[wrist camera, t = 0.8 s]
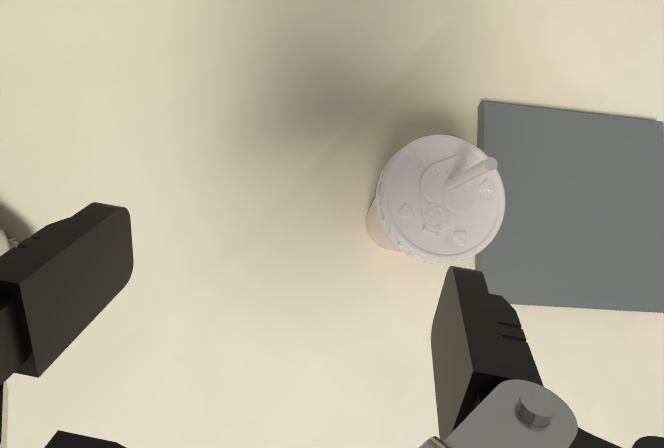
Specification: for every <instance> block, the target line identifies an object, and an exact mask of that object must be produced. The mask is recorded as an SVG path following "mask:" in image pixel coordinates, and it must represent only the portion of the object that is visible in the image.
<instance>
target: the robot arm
mask: <svg viewBox="0 0 664 448" xmlns="http://www.w3.org/2000/svg"><path fill="white" fill-rule="evenodd" d="M132 270H133V248H132V235H131V221H130V214H129V211H128V210H127V209H126V208H124V207H120V206H114V205H108V204H103V203H97V202H94V203H91V204H90V205H88V206H87V207H85V208H84V209H82V210H81V211H79V212H78V213H76V214H75V215H73V216H72V217H69V218H66V219H63V220H61V221H58V222H55V223H52V224H49V225H47V226H45V227H44V228H42V229H41V230H39V231H38V232H36V233H35V234H33V235H32V236H31V238H27V239H25V240H24V241H22V242H21V243H19V244H18V246H17V247H13V248H12V249H10V250H9V251H7V252H5V253H4V254H2V255H1V256H0V448H7V422H8V387H7V383H6V380H7V379H8V378H9V377H10V376H11V375H12V374H13V373H18V374H23V375H28V376H33V377H38V378H39V377H40V376H41V375H42V374H43V372H44V371H45V370H46V369H47V368H48V367H49V366H50V365H51V364H52V363H53V362H54V361H55V360H56V359H57V358H58V357H59V356H60V354H61V353H62V352H63V351H64V350H65V349H66V348H67V347H68V346H69V345H70V344H71V343H72V342H73V341H74V340H75V339H76V338H77V336H78V335H79V334H80V333H81V332H82V331H83V330H84V329H85V328H86V327H87V326H88V325H89V324H90V323H91V322H92V321H93V320H94V318H95V317H96V316H97V315H98V314H99V313H100V312H101V311H102V310H103V309H104V308H105V307H106V306H107V305H108V304H109V303H110V301H111V300H112V299H113V298H114V297H115V296H116V295H117V294H118V293H119V292H120V291H121V290H122V289H123V288H124V287H125V285H126V284H127V283H128V281H129V279H130V277H131V274H132ZM431 348H432V359H433V370H434V381H435V392H436V403H437V414H438V425H439V436H440V439H439V438H438V437H436V436H434V437H431V438H430V439H428V440H427V441H426V442H425V443H424V444H423V445H422V446H421V447H419V448H621V447H619V446H617V445H615V444H612V443H610V442H608V441H605V440H603V439H601V438H599V437H596V436H594V435H592V434H590V433H588V432H586V431H584V430H582V429H580V428H579V427H578V425H577V421H576V418H575V416H574V414H573V412H572V410H571V409H570V408H569V407H568V405H567V404H566V403H565V402H564V401H563V400H562V399H561V398H560V397H558V396H557V395H556V394H554V393H553V392H551V391H550V390H548V389H546V388H545V387H544V386H543V383H542V381H541V378H540V375H539V373H538V370H537V367H536V364H535V362H534V359H533V356H532V354H531V351H530V348H529V345H528V343H527V342H526V337H525V335H524V332H523V329H521V324H520V321H519V318H518V316H517V313H516V311H515V309H514V308H513V307H512V306H511V305H510V304H509V303H508V302H507V301H506V300H505V299H504V298H503V296H500V295H495V294H489V291H488V287H487V284H486V281H485V278H484V274H483V272H482V271H477V270H472V269H466V268H461V267H455V266H450V267H449V269H448V271H447V274H446V277H445V281H444V284H443V288H442V291H441V295H440V298H439V302H438V305H437V309H436V312H435V316H434V320H433V325H432V332H431ZM45 448H126V447H124V446H122V445H120V444H118V443H116V442H112V441H107V440H102V439H97V438H92V437H88V436H83V435H78V434H73V433H68V432H64V431H59V430H58V431H57V432H56V434H55V435H54V436H53V437H52V439H51V440H50V441H49V443H48V444H47V445H46V446H45ZM632 448H664V438H663V437H657V436H646V437H642V438H640V439H638V440H637V441H636V442H635V443H634V445H633V447H632Z"/></svg>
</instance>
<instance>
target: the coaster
mask: <svg viewBox="0 0 664 448" xmlns="http://www.w3.org/2000/svg"><path fill="white" fill-rule="evenodd" d="M477 147H478V148H479V149H480V150H482V151H483V152H484V153H485V154H486V155H487V156H488V158H489V157H492V158H494V159H495V160H496V161H497V168H496V169H497V171H498V173H499V175H500V177H501V180H502V183H503V187H504V192H505V212H504V217H503V220H502V224H501V226H500V228H499V230H498V232H497V234H496V236H495V237H494V238H493V240H492V241H491V242H490V243H489V244H488V245H487V246H486V247H485V248H484V249H483V250H482V251H480V252H479V253H477V254H476V264H475V270H477V271H482V272H483V274H484V278H485V281H486V284H487V287H488V291H489V294H495V295H500V296H503V298H504V299H505V300H506V301H507V302H508V303H509V304H520V305H537V306H555V307H572V308H589V309H606V310H624V311H641V312H658V313H664V125H663V122H661V121H652V120H643V119H634V118H625V117H617V116H608V115H599V114H590V113H582V112H573V111H564V110H555V109H547V108H538V107H529V106H520V105H512V104H503V103H494V102H485V101H484V102H483V103H482V104H481V105H480V106H478V146H477Z"/></svg>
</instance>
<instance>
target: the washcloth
mask: <svg viewBox="0 0 664 448" xmlns="http://www.w3.org/2000/svg"><path fill="white" fill-rule="evenodd" d="M6 235H7V233H6V231H3V230H1V229H0V256H1V255H2V254H4V253H5V252H7V251H9V250H10V249H12V248H13V247H17V246H18V244H19V242H18V241H17V239H15V238H14V237H10V238H7V237H6Z"/></svg>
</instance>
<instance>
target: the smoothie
mask: <svg viewBox="0 0 664 448" xmlns="http://www.w3.org/2000/svg"><path fill="white" fill-rule="evenodd" d="M496 168H497V161H496V160H495V159H494V158H492V157H489V158H488V156H487V155H486V154H485V153H484V152H483V151H482V150H480V149H479V148H478V147H476V146H475V145H473V144H472V143H470V142H468V141H466V140H464V139H461V138H458V137H455V136H450V135H429V136H425V137H421V138H419V139H416V140H414V141H412V142H410V143H409V144H407V145H406V146H404V147H403V148H401V149H400V150H399V151H398V152H396V153H395V154H394V155H393V156H392V157H391V158H390V159H389V160H388V162H387V164H386V165H385V167H384V169H383V170H382V172H381V174H380V177H379V181H378V184H377V188H376V197H375V199H374V201H373V203H372V205H371V207H370V209H369V211H368V214H367V219H366V226H367V230H368V233H369V235H370V237H371V238H372V240H373V241H374V242H375V243H376V244H378V245H379V246H381V247H383V248H386V249H390V250H395V251H401V252H404V253H406V254H408V255H409V256H411V257H412V258H414V259H417V260H420V261H423V262H426V263H430V264H450V263H454V262H458V261H462V260H464V259H467V258H469V257H472V256H474V255H475V254H477V253H479V252H480V251H482V250H483V249H484V248H485V247H486V246H487V245H488V244H489V243H490V242H491V241H492V240H493V238H494V237H495V236H496V234H497V232H498V230H499V228H500V226H501V224H502V220H503V217H504V212H505V192H504V187H503V183H502V180H501V177H500V175H499V173H498V171H497V169H496Z"/></svg>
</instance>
